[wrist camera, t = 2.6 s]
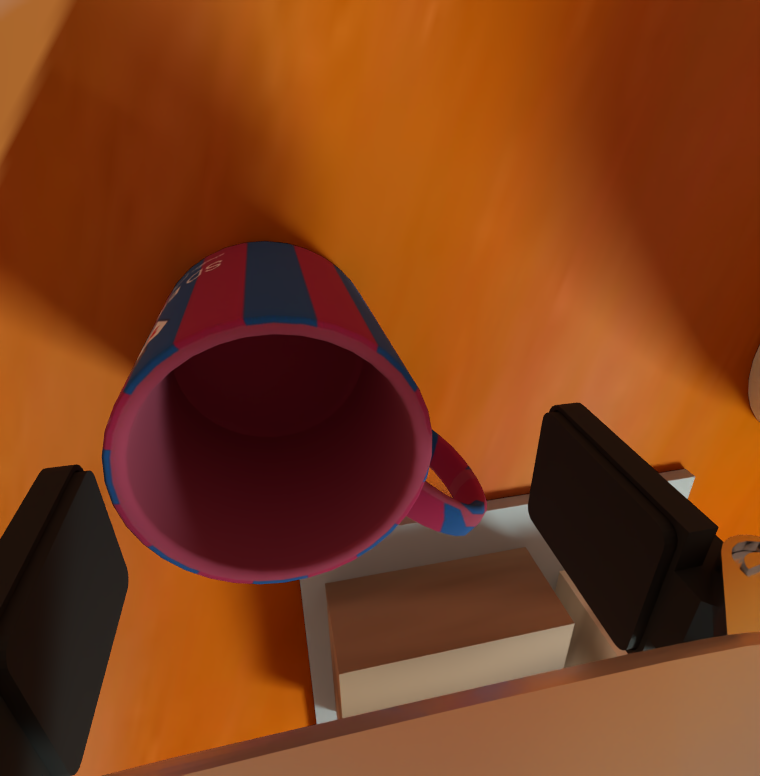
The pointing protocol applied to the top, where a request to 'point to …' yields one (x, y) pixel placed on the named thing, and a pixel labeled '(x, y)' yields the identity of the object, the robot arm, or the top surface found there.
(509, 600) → the walnut slab
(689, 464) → the top surface
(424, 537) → the board
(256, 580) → the cup
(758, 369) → the reusable coffee cup
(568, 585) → the birch cube
